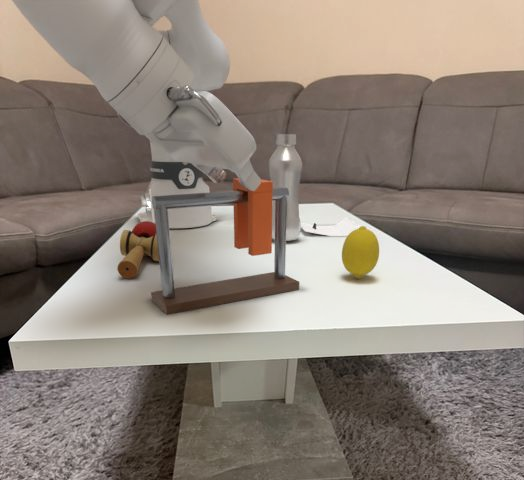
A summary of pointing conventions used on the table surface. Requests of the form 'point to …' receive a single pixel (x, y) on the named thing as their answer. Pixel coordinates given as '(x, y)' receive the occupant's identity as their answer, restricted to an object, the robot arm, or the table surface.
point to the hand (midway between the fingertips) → (237, 182)
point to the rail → (226, 289)
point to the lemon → (360, 252)
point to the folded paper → (332, 228)
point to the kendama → (137, 247)
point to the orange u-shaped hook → (254, 219)
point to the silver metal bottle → (287, 181)
